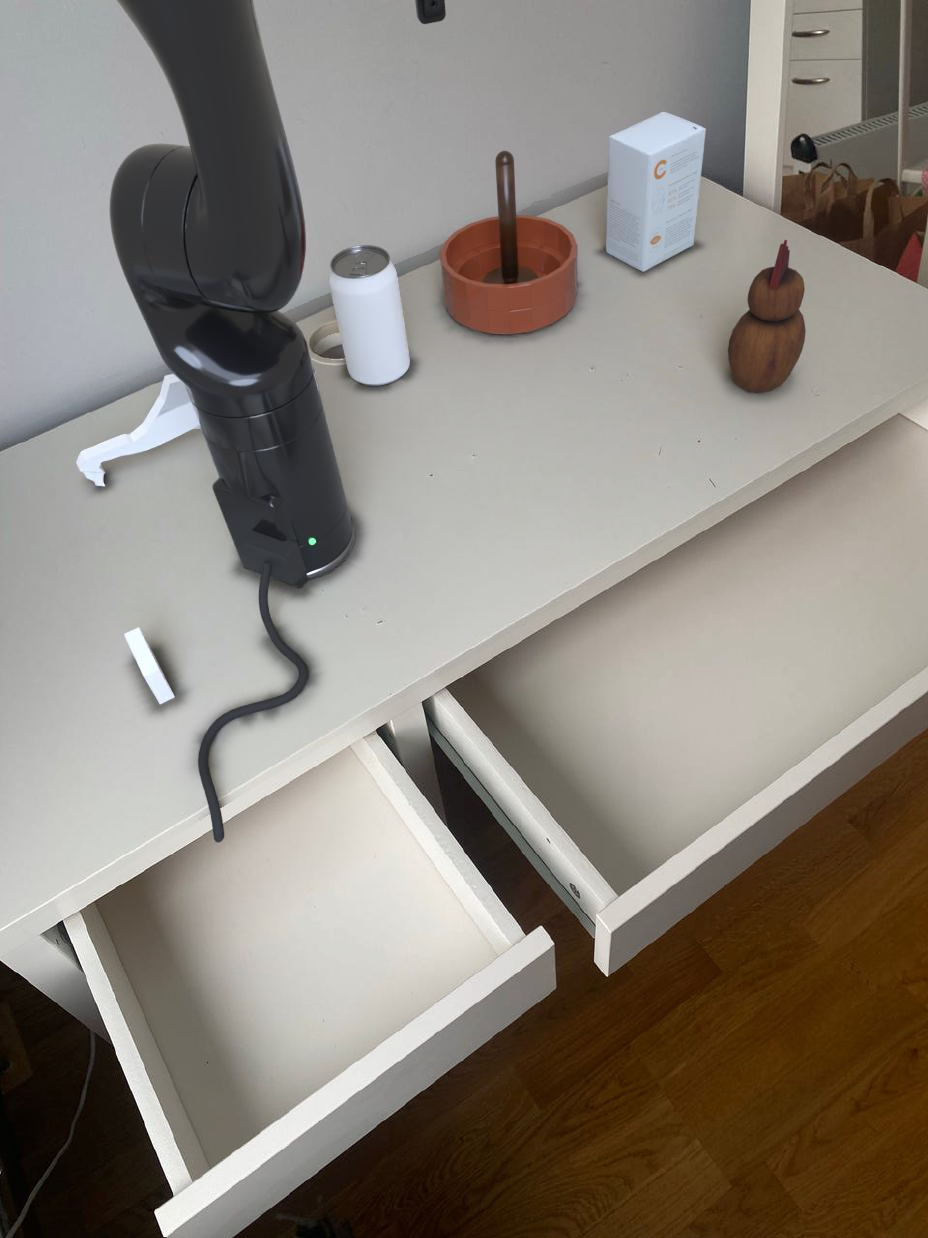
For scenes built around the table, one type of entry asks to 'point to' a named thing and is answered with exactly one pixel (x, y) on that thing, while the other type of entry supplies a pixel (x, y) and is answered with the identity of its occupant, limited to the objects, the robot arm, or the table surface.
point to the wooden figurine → (769, 328)
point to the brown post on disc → (507, 227)
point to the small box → (653, 189)
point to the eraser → (149, 665)
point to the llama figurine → (145, 430)
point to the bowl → (509, 304)
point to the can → (369, 314)
